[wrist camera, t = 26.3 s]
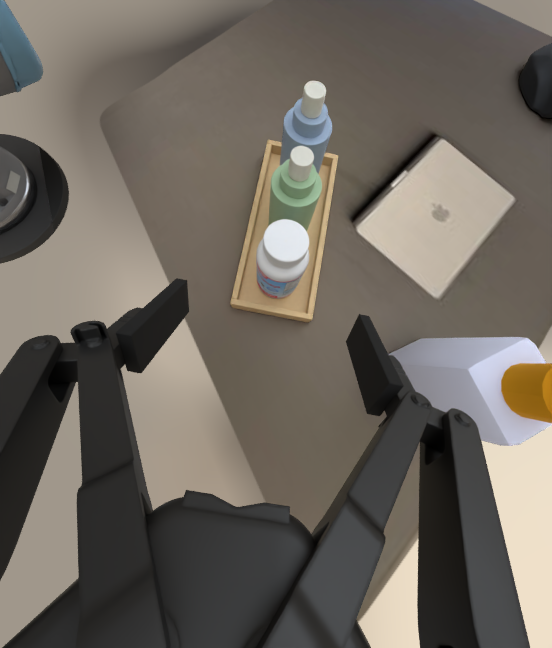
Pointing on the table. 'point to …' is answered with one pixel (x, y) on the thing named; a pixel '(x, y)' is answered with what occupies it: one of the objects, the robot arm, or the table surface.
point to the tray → (246, 284)
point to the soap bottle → (484, 383)
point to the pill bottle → (282, 258)
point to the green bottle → (295, 188)
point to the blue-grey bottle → (307, 124)
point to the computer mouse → (538, 81)
